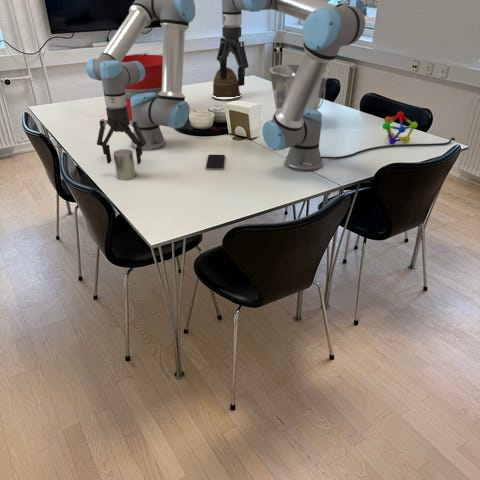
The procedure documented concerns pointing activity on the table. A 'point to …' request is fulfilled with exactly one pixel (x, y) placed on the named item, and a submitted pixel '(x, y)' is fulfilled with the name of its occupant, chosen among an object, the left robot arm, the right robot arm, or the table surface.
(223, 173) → the table surface
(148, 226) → the table surface
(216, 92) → the bell
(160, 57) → the bucket
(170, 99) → the left robot arm
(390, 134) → the educational toy
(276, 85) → the bucket
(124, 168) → the can
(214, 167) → the smartphone
